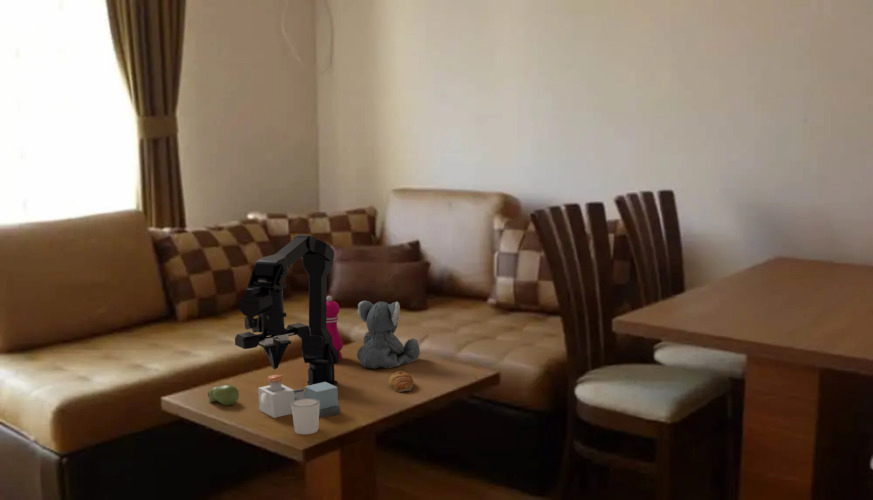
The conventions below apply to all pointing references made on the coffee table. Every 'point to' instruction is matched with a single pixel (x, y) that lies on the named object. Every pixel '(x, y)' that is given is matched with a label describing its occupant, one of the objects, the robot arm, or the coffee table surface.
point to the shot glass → (305, 415)
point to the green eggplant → (224, 394)
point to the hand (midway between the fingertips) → (275, 368)
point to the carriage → (323, 394)
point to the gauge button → (275, 382)
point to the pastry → (401, 381)
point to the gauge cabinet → (275, 401)
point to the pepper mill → (334, 324)
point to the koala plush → (384, 337)
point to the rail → (324, 412)
